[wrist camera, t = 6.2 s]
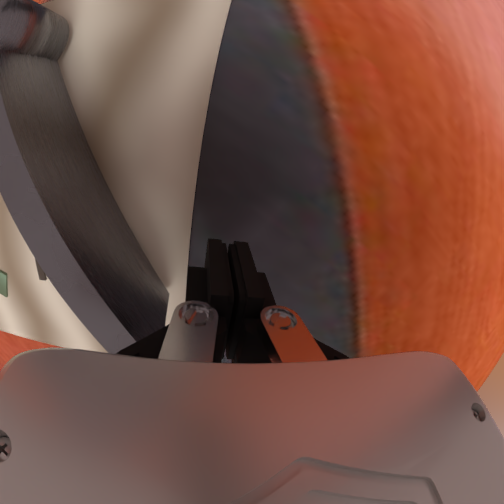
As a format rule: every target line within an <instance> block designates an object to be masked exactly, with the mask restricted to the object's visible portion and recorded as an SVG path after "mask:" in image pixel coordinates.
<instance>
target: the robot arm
mask: <svg viewBox="0 0 504 504" xmlns="http://www.w3.org/2000/svg"><path fill="white" fill-rule="evenodd" d="M225 349H226V357H227V359H232V363H221V359H223V357H224V352H225ZM0 504H504V439H503V436H502V434H501V432H500V430H499V429H498V427H497V425H496V423H495V421H494V420H493V418H492V416H491V414H490V413H489V411H488V409H487V408H486V406H485V404H484V403H483V401H482V400H481V398H480V396H479V395H478V393H477V392H476V390H475V389H474V387H473V386H472V385H471V383H470V382H469V380H468V379H467V378H466V376H465V375H464V374H463V373H462V371H461V370H460V369H459V368H458V367H457V366H456V364H455V363H454V362H453V361H452V360H451V359H449V358H448V357H445V356H443V355H440V354H436V353H432V352H423V351H413V352H401V353H392V354H383V355H376V356H368V357H359V358H349V357H347V356H346V355H344V354H342V353H340V352H338V351H336V350H334V349H332V348H331V347H329V346H327V345H325V344H323V343H321V342H320V341H318V340H316V339H314V338H313V337H312V335H311V334H310V332H309V331H308V329H307V327H306V326H305V324H304V323H303V321H302V320H301V318H300V317H299V316H298V314H297V313H296V312H294V311H293V310H291V309H289V308H287V307H283V306H276V303H275V300H274V297H273V295H272V292H271V289H270V286H269V283H268V281H267V278H266V275H265V273H261V272H257V270H256V267H255V264H254V261H253V258H252V255H251V252H250V248H249V245H248V243H247V242H239V241H234V244H229V247H228V253H227V247H226V243H222V241H221V240H219V239H208V244H207V252H206V260H205V268H201V267H190V266H188V276H187V290H186V302H183V303H181V304H179V305H178V306H177V307H176V308H175V310H174V312H173V315H172V318H171V321H170V324H168V325H167V326H165V327H163V328H161V329H159V330H157V331H155V332H154V333H152V334H150V335H148V336H146V337H144V338H143V339H141V340H139V341H137V342H135V343H133V344H131V345H129V346H128V347H126V348H124V349H122V350H120V351H119V352H117V353H116V354H113V353H105V352H97V351H90V350H83V349H73V348H42V349H34V350H29V351H25V352H22V353H19V354H18V355H16V356H14V357H13V358H12V359H10V360H9V361H8V362H7V363H6V364H5V366H4V367H3V368H2V370H1V371H0Z"/></svg>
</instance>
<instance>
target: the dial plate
mask: <svg viewBox="0 0 504 504" xmlns="http://www.w3.org/2000/svg"><path fill="white" fill-rule="evenodd" d="M231 1H232V0H53V1H49V2H46V3H43V4H40V5H42V6H44V7H46V8H48V9H50V10H52V11H54V12H56V13H57V14H59V15H61V16H63V17H64V18H65V19H66V20H67V22H68V25H69V37H68V41H67V44H66V47H65V49H64V51H63V53H62V55H61V56H60V58H59V59H58V64H59V67H60V70H61V74H62V77H63V80H64V82H65V85H66V88H67V91H68V94H69V97H70V99H71V102H72V105H73V107H74V110H75V112H76V115H77V118H78V120H79V123H80V125H81V127H82V130H83V132H84V135H85V137H86V139H87V142H88V144H89V146H90V148H91V151H92V153H93V155H94V157H95V160H96V162H97V164H98V166H99V168H100V170H101V172H102V174H103V177H104V179H105V181H106V183H107V185H108V187H109V189H110V191H111V193H112V195H113V197H114V199H115V201H116V203H117V205H118V206H119V208H120V210H121V212H122V214H123V216H124V218H125V220H126V221H127V223H128V225H129V227H130V229H131V231H132V232H133V234H134V236H135V238H136V239H137V241H138V243H139V245H140V246H141V248H142V250H143V252H144V253H145V255H146V257H147V258H148V260H149V262H150V263H151V265H152V267H153V268H154V270H155V272H156V273H157V275H158V276H159V278H160V280H161V281H162V283H163V284H164V286H165V288H166V289H167V291H168V292H169V301H168V308H167V315H166V322H165V326H167V325H168V324H170V321H171V318H172V315H173V312H174V310H175V308H176V307H177V306H178V305H179V304H181V303H183V302H185V299H186V283H187V268H188V256H189V244H190V233H191V223H192V214H193V205H194V196H195V188H196V180H197V173H198V165H199V158H200V151H201V145H202V138H203V132H204V126H205V120H206V114H207V108H208V103H209V98H210V92H211V87H212V82H213V77H214V72H215V67H216V62H217V58H218V53H219V49H220V44H221V40H222V36H223V32H224V28H225V24H226V20H227V16H228V12H229V8H230V4H231ZM0 330H1V331H4V332H8V333H11V334H14V335H17V336H21V337H24V338H28V339H32V340H35V341H39V342H43V343H47V344H51V345H56V346H60V347H65V348H73V349H83V350H90V351H97V352H105V353H108V352H107V351H106V350H105V349H104V348H103V347H102V345H101V344H100V343H99V342H98V341H97V340H96V339H95V338H94V336H93V335H92V334H91V333H90V332H89V331H88V330H87V328H86V327H85V326H84V325H83V324H82V322H81V321H80V320H79V319H78V317H77V316H76V315H75V314H74V312H73V311H72V310H71V309H70V307H69V306H68V305H67V303H66V302H65V301H64V300H63V298H62V297H61V295H60V294H59V293H58V291H57V290H56V289H55V287H54V286H53V284H52V283H51V282H50V280H49V279H48V277H47V276H46V274H45V273H44V271H43V270H42V268H41V267H40V265H39V264H38V262H37V260H36V259H35V257H34V256H33V254H32V252H31V251H30V249H29V247H28V246H27V244H26V242H25V240H24V239H23V237H22V235H21V233H20V232H19V230H18V228H17V226H16V224H15V222H14V220H13V218H12V216H11V214H10V212H9V210H8V208H7V206H6V204H5V202H4V200H3V198H2V196H1V193H0Z"/></svg>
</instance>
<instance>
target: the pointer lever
mask: <svg viewBox="0 0 504 504" xmlns="http://www.w3.org/2000/svg"><path fill="white" fill-rule="evenodd" d="M68 37H69V25H68V22H67V20H66V19H65V18H64V17H63V16H61V15H59V14H57V13H56V12H54V11H52V10H50V9H48V8H46V7H44V6H42V5H40V4H38V3H36V2H34V1H32V0H0V193H1V196H2V198H3V200H4V202H5V204H6V206H7V208H8V210H9V212H10V214H11V216H12V218H13V220H14V222H15V224H16V226H17V228H18V230H19V232H20V233H21V235H22V237H23V239H24V240H25V242H26V244H27V246H28V247H29V249H30V251H31V252H32V254H33V256H34V257H35V259H36V260H37V262H38V264H39V265H40V267H41V268H42V270H43V271H44V273H45V274H46V276H47V277H48V279H49V280H50V282H51V283H52V284H53V286H54V287H55V289H56V290H57V291H58V293H59V294H60V295H61V297H62V298H63V300H64V301H65V302H66V303H67V305H68V306H69V307H70V309H71V310H72V311H73V312H74V314H75V315H76V316H77V317H78V319H79V320H80V321H81V322H82V324H83V325H84V326H85V327H86V328H87V330H88V331H89V332H90V333H91V334H92V335H93V336H94V338H95V339H96V340H97V341H98V342H99V343H100V344H101V345H102V347H103V348H104V349H105V350H106V351H107V352H108V353H113V354H116V353H117V352H119V351H120V350H122V349H124V348H126V347H128V346H129V345H131V344H133V343H135V342H137V341H139V340H141V339H143V338H144V337H146V336H148V335H150V334H152V333H154V332H155V331H157V330H159V329H161V328H163V327H165V322H166V315H167V308H168V301H169V292H168V291H167V289H166V288H165V286H164V284H163V283H162V281H161V280H160V278H159V276H158V275H157V273H156V272H155V270H154V268H153V267H152V265H151V263H150V262H149V260H148V258H147V257H146V255H145V253H144V252H143V250H142V248H141V246H140V245H139V243H138V241H137V239H136V238H135V236H134V234H133V232H132V231H131V229H130V227H129V225H128V223H127V221H126V220H125V218H124V216H123V214H122V212H121V210H120V208H119V206H118V205H117V203H116V201H115V199H114V197H113V195H112V193H111V191H110V189H109V187H108V185H107V183H106V181H105V179H104V177H103V174H102V172H101V170H100V168H99V166H98V164H97V162H96V160H95V157H94V155H93V153H92V151H91V148H90V146H89V144H88V142H87V139H86V137H85V135H84V132H83V130H82V127H81V125H80V123H79V120H78V118H77V115H76V112H75V110H74V107H73V105H72V102H71V99H70V97H69V94H68V91H67V88H66V85H65V82H64V80H63V77H62V74H61V70H60V67H59V64H58V59H59V58H60V56H61V55H62V53H63V51H64V49H65V47H66V44H67V41H68Z"/></svg>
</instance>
